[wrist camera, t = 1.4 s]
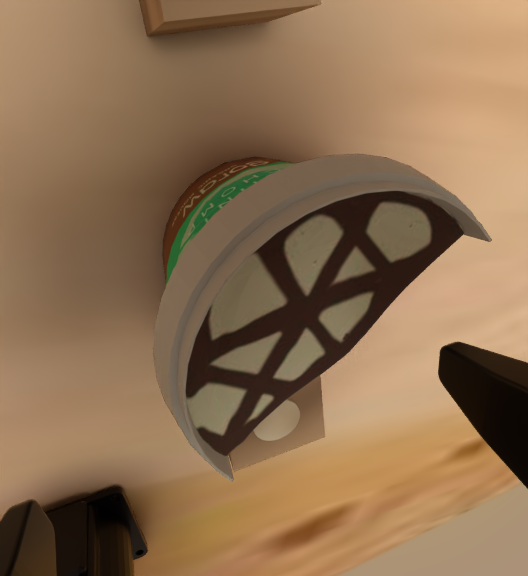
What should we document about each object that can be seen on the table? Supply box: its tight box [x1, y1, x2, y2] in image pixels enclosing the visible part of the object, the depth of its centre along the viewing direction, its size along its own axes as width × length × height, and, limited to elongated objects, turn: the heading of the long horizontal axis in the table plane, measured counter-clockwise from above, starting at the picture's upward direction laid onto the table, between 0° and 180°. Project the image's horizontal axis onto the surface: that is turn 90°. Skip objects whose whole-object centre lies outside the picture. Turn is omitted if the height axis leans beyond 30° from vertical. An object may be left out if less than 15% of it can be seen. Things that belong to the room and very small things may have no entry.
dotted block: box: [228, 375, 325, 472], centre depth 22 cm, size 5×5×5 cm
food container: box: [153, 154, 492, 481], centre depth 16 cm, size 12×6×10 cm, turn 130°
